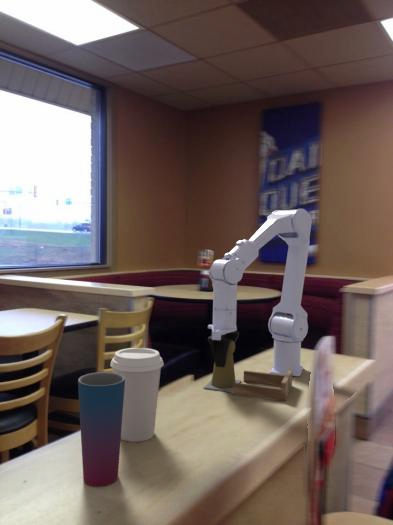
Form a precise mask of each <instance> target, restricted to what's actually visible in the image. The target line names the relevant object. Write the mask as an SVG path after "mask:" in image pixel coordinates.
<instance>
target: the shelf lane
mask: <svg viewBox="0 0 393 525" xmlns="http://www.w3.org/2000/svg"><path fill="white" fill-rule="evenodd" d="M243 382H248V383H241V382H240V383H233V392H232V395H233V396H240V397H241V396H242V397H248V398H249V397H250V398H256V399H264V400H271V399H275V400H274V401H279V400H281V401H280V402H286V400H287V398H288V395H289V394H290V391H291V389H292V387H293V376H292V370H290V369H288V371H287V373H286V375H281V374H272V373H270V372H262V371H261V372H260V371H255V370H253V371H251V370H243ZM249 383H255V384H256V383H257V384H263V385H257V384H256V385H255V384H249ZM264 384H265V386H264ZM266 385H272V386H266ZM273 386H280V387H273Z"/></svg>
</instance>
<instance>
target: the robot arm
mask: <svg viewBox="0 0 393 525" xmlns="http://www.w3.org/2000/svg"><path fill="white" fill-rule="evenodd" d="M312 222H313V220H312V218H311V216H310V214H309V212H308V211H307V210H306V209H305V208H297V209H283V210H282V209H276V210H274V211H272V212H271V213H270V214H269V215H268V216H267V218H266V221H265V222H264V223H263V224H262V225H261V227H260V228H259V229H258V230H256V231H255V233H254V234H253V235H252V236H251V237H250V238H249V239H242V240H238V241H236V243H235V246H234V247H233V248H232V249H231V250H230V251H229V252H227V253H225V254H224V255H223V256H224V257H223V258H220V259H216V260H214V261H213V263H212V264H211V266H210V268H209V270H208V276H209V278H210V280H211V282H212V284H211V285H212V288H213V290H212V291H213V294H212V295H213V296H212V297H213V299H212V302H213V303H212V324H208V325H207V329H208V330H209V329H210V330H211V335H210V336H208V337H207V342H208V343H209V345H210V346H209V347H210V348H211V351H212V354H213V359H214V363H215V365H216V367H225V364H226V359H227V352H228V349H229V346H230V343H231V341H234V343H235V344H236V342H237V340H238V338H239V336H240V332H239V331H237V330H238V328H237V327H238V326H237V306H238V305H237V304H238V302H237V300H238V298H237V297H238V283H239V282H241V280H242V278H243V275H244V272H245V271H246V268H247V267H249V266H250V265H251V264H252V263H253V262H254V261H255V260H256V259H257V258H258V257H259V250H260V249H261V248H262V247H264V246H265V245H266V244H267V243H269V241H271V240H272V239H273V238H274V237H276V236H278V237H279V238H281V240H283V241H285V243H286V244H287V246H288V249H287V254H286V255H287V256H286V262H285V268H284V275H283V282H282V289H281V290H282V291H281V297H280V302H279V303H277V305H275V306H274V307H272V313H271V316H270V317H269V319H268V323H267V326H268V331H269V333H270V334H271V335H272V336H271V338H272V339H273V362H272V363H273V364H272V368H271V369H270V370H269V373H272V374H281V375H286V373H287V371H288V369H290V370H292V377H300V376H301V375H302V372H303V369H304V366H303V365H301V355H302V354H301V351H302V350H301V349H302V342H304V339H305V338H306V336H307V335H308V331H309V330H308V329H309V324H308V313H307V311H306V310H305V309H304V308H303V306H302V305H301V304H302V298H303V290H304V283H305V277H306V270H307V263H308V257H309V249H310V244H311V243H310V236H311V229H312Z"/></svg>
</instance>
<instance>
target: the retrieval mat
mask: <svg viewBox="0 0 393 525" xmlns="http://www.w3.org/2000/svg"><path fill="white" fill-rule="evenodd" d="M211 382H212V379H210V381H209V382H208V383H207V384H206V385H205V386H204V387H203V389H204V390H212V391H219V392H227V393H233V387H227V388H223V387H216V386H213V385H212V384H211ZM235 382H236V383H241V382H242V380H241V379H235Z"/></svg>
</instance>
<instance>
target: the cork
mask: <svg viewBox="0 0 393 525" xmlns="http://www.w3.org/2000/svg"><path fill="white" fill-rule="evenodd" d="M235 350H236V342H235V343H234V341H231V343H230V346H229V349H228V352H227V359H226V364H225V367H216V365H215V362H214V363H213V371H212V374H211V375H212V376H211V380H212V382H211V384H212V385H213V386H216V387H223V388H227V387H233V383H236V382H235V380H236V373H235V372H236V371H235V362H234V361H235V360H234V352H235Z"/></svg>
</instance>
